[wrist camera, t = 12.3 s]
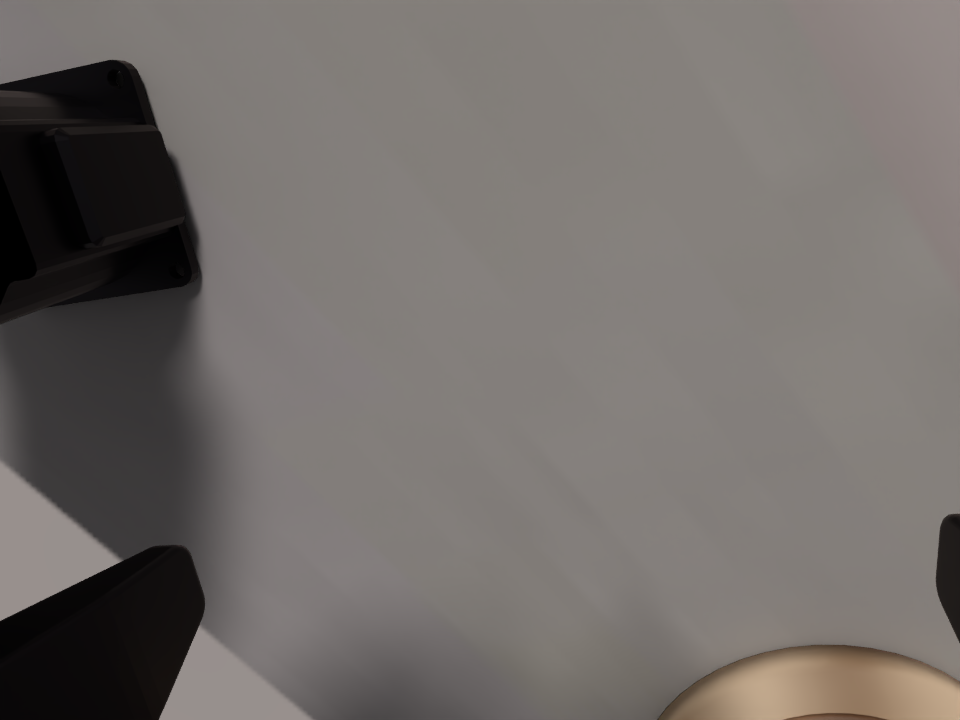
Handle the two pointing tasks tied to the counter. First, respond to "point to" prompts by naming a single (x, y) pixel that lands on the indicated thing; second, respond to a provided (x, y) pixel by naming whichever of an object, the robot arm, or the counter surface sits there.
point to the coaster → (821, 688)
